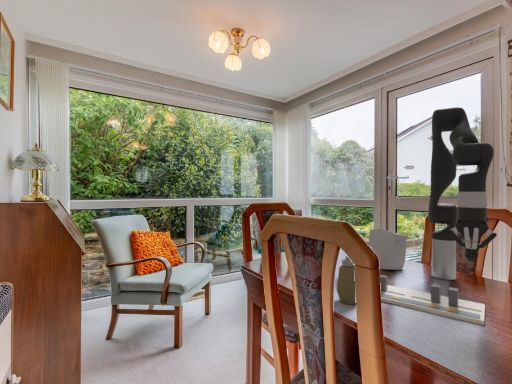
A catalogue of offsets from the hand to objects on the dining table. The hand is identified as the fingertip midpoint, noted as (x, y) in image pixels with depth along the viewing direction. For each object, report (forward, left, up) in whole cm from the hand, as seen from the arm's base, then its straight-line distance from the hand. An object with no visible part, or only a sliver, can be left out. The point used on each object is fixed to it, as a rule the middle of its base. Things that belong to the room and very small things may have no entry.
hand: (471, 260), depth 91 cm
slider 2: (0, -5, -15) cm, 16 cm away
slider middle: (0, -10, -15) cm, 18 cm away
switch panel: (0, -13, -17) cm, 21 cm away
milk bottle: (-18, -42, -17) cm, 48 cm away
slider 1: (0, -27, -15) cm, 31 cm away
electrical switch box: (-43, -36, -17) cm, 58 cm away
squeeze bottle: (+16, -34, -17) cm, 41 cm away
